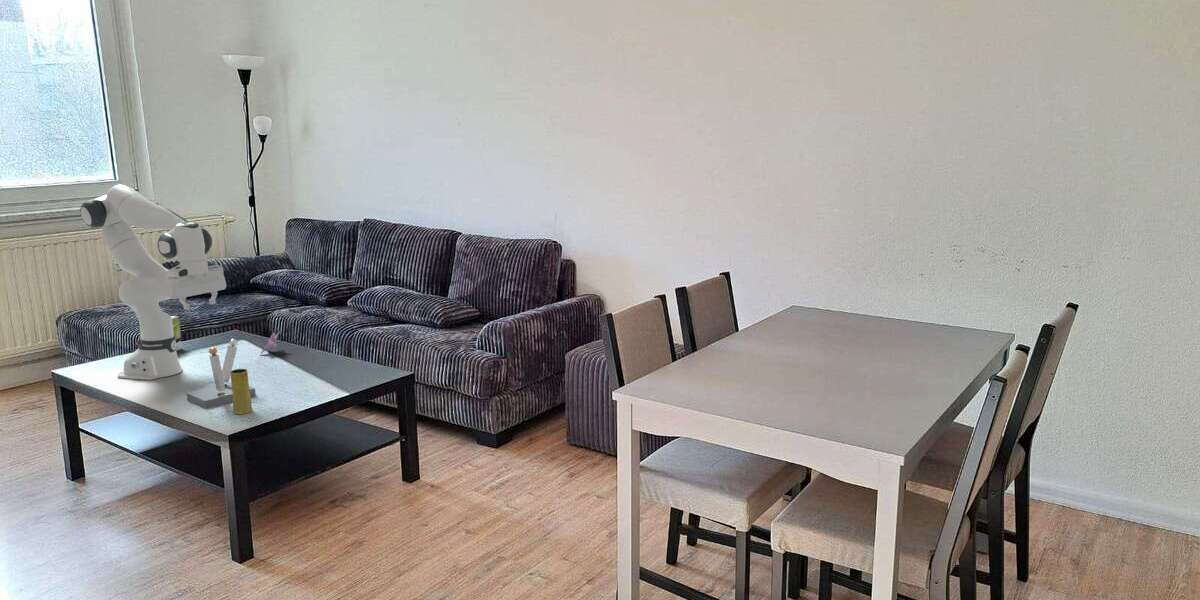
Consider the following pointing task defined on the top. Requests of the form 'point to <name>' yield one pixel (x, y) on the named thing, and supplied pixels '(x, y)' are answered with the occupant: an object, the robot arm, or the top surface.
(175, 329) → the tea box
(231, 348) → the switch
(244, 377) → the vase
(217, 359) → the switch
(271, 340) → the lily
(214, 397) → the console
